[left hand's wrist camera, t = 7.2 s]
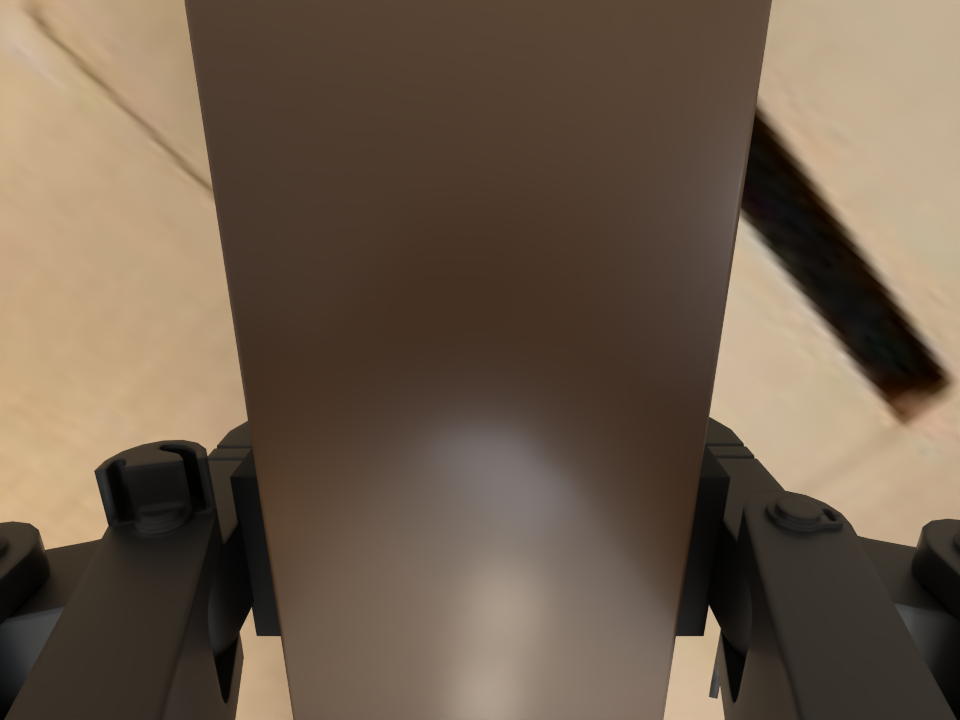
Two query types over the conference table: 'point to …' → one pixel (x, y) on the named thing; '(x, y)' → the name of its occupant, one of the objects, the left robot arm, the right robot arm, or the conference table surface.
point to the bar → (478, 332)
